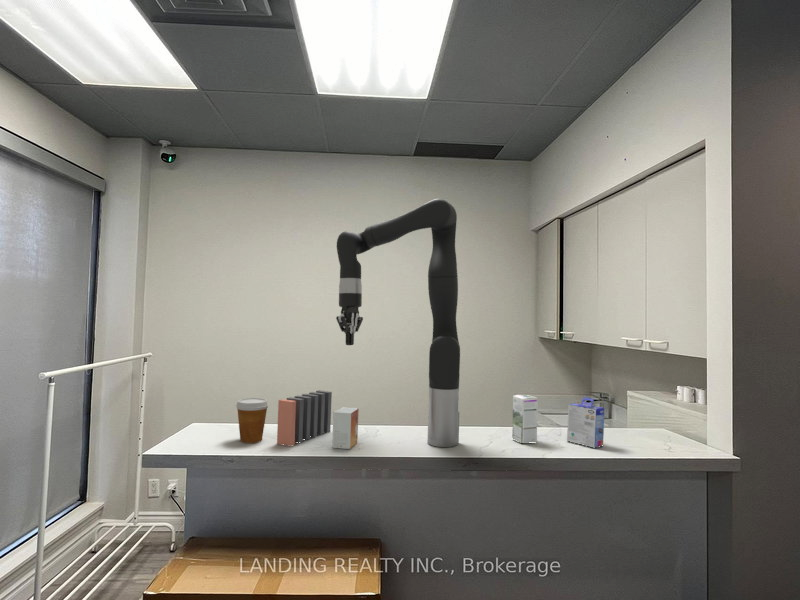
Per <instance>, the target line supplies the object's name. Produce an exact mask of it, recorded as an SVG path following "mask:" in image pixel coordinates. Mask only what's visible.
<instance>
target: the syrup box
mask: <svg viewBox="0 0 800 600" xmlns="http://www.w3.org/2000/svg"><path fill="white" fill-rule="evenodd" d="M512 438H513V439H515V440H517V441H519V442H521V443H529V442H537V443H538V397H536V396H533V395H532V396H531V395H528V394H517V395H515V394H514V395H513V396H512ZM521 443H520V444H521Z"/></svg>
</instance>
